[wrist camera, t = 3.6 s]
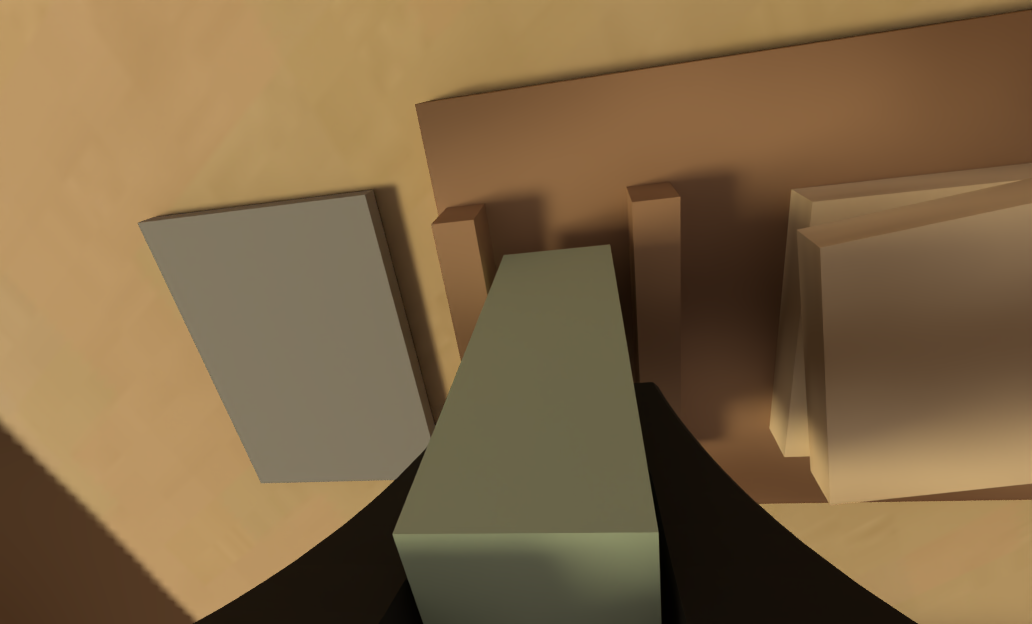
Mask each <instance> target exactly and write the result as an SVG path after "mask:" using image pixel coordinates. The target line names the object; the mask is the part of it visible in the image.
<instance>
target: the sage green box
mask: <svg viewBox="0 0 1032 624" xmlns="http://www.w3.org/2000/svg"><path fill="white" fill-rule="evenodd" d="M392 535H393V538H394V541H395V544H396V546H397V549H398V552H399V555H400V558H401V561H402V564H403V567H404V569H405V572H406V575H407V578H408V581H409V584H410V587H411V590H412V593H413V595H414V598H415V601H416V604H417V607H418V610H419V613H420V616H421V619H422V621H423V624H661V594H660V562H659V532H658V526H657V520H656V514H655V508H654V502H653V496H652V491H651V485H650V479H649V473H648V467H647V461H646V455H645V449H644V443H643V437H642V431H641V425H640V419H639V413H638V407H637V401H636V396H635V390H634V384H633V378H632V372H631V366H630V360H629V354H628V348H627V342H626V336H625V330H624V324H623V318H622V312H621V306H620V300H619V295H618V289H617V283H616V277H615V271H614V265H613V259H612V253H611V247H610V244H609V245H599V246H589V247H579V248H569V249H559V250H549V251H539V252H529V253H519V254H509V255H504V256H503V258H502V261H501V263H500V266H499V268H498V271H497V273H496V276H495V278H494V281H493V283H492V286H491V288H490V291H489V293H488V296H487V298H486V301H485V303H484V306H483V308H482V311H481V313H480V316H479V318H478V321H477V323H476V326H475V328H474V331H473V333H472V336H471V338H470V341H469V343H468V346H467V348H466V351H465V353H464V356H463V358H462V361H461V363H460V366H459V368H458V371H457V373H456V376H455V378H454V381H453V383H452V386H451V388H450V391H449V393H448V396H447V398H446V401H445V403H444V406H443V409H442V411H441V414H440V416H439V419H438V421H437V424H436V426H435V429H434V431H433V434H432V436H431V439H430V441H429V444H428V446H427V449H426V451H425V454H424V456H423V459H422V461H421V464H420V466H419V469H418V471H417V474H416V476H415V479H414V481H413V484H412V486H411V489H410V491H409V494H408V496H407V499H406V501H405V504H404V506H403V509H402V511H401V514H400V516H399V519H398V521H397V524H396V526H395V529H394V531H393V534H392Z"/></svg>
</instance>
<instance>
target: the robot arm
mask: <svg viewBox="0 0 1032 624" xmlns="http://www.w3.org/2000/svg"><path fill="white" fill-rule="evenodd" d="M633 384H634V390H635V396H636V401H637V407H638V413H639V419H640V425H641V431H642V437H643V443H644V449H645V455H646V461H647V467H648V473H649V479H650V485H651V491H652V496H653V502H654V508H655V514H656V520H657V526H658V532H659V562H660V594H661V624H917V623H916V622H914V621H913V620H911V619H910V618H908V617H907V616H905V615H904V614H902V613H901V612H899V611H898V610H896V609H895V608H893V607H892V606H890V605H889V604H887V603H886V602H884V601H883V600H881V599H880V598H878V597H877V596H875V595H874V594H872V593H871V592H869V591H868V590H866V589H865V588H863V587H862V586H860V585H859V584H858V583H856V582H855V581H853V580H852V579H851V578H849V577H848V576H847V575H845V574H844V573H843V572H841V571H840V570H839V569H837V568H836V567H835V566H833V565H832V564H831V563H829V562H828V561H827V560H825V559H824V558H823V557H821V556H820V555H819V554H817V553H816V552H815V551H813V550H812V549H811V548H809V547H808V546H807V545H805V544H804V543H803V542H802V541H800V540H799V539H798V538H797V537H796V536H794V535H793V534H792V533H791V532H790V531H788V530H787V529H786V528H785V527H784V526H782V525H781V524H780V523H779V522H778V521H776V520H775V519H774V518H773V517H772V516H771V515H770V514H769V513H768V512H766V511H765V510H764V509H763V508H762V507H761V506H760V505H759V504H758V503H756V502H755V501H754V500H753V499H752V498H751V497H750V496H749V495H748V494H747V493H746V492H745V491H744V490H743V489H742V488H741V487H740V486H739V485H738V484H737V483H736V482H735V481H734V480H733V479H732V478H731V477H730V476H729V475H728V474H727V473H726V472H725V471H724V470H723V469H722V468H721V467H720V466H719V465H718V464H717V462H716V461H715V460H714V459H713V458H712V457H711V456H710V455H709V454H708V452H707V451H706V450H705V449H704V448H703V447H702V445H701V444H700V443H699V442H698V441H697V439H696V438H695V437H694V436H693V435H692V433H691V432H690V431H689V430H688V429H687V427H686V426H685V425H684V423H683V422H682V421H681V420H680V418H679V417H678V415H677V414H676V413H675V411H674V410H673V409H672V407H671V406H670V404H669V403H668V401H667V400H666V398H665V397H664V395H663V394H662V392H661V390H660V389H659V387H658V386H657V385H656V384H655V383H653V382H643V383H633ZM426 449H427V447H426V448H425V450H424V451H423V452H422V453H421V454H420V455H419V456H418V457H417V458H416V459H415V460H414V461H413V462H412V463H411V464H410V465H409V466H408V467H407V468H406V469H405V470H404V471H403V472H402V473H401V474H400V475H399V476H398V477H397V478H396V479H395V480H394V481H393V482H392V483H391V484H390V485H389V486H388V487H387V488H386V489H385V490H384V491H383V492H382V493H381V494H380V495H378V496H377V497H376V498H375V499H374V500H373V501H372V502H371V503H369V504H368V505H367V506H366V507H365V508H363V509H362V510H361V511H360V512H359V513H358V514H356V515H355V516H354V517H353V518H352V519H350V520H349V521H348V522H347V523H345V524H344V525H343V526H342V527H340V528H339V529H338V530H336V531H335V532H334V533H332V534H331V535H330V536H328V537H327V538H326V539H324V540H323V541H322V542H320V543H319V544H317V545H316V546H315V547H313V548H312V549H311V550H309V551H308V552H307V553H305V554H304V555H303V556H301V557H300V558H299V559H297V560H296V561H294V562H293V563H291V564H290V565H288V566H287V567H285V568H284V569H282V570H281V571H279V572H278V573H276V574H275V575H273V576H272V577H270V578H269V579H267V580H266V581H264V582H263V583H261V584H259V585H258V586H256V587H255V588H253V589H251V590H250V591H248V592H247V593H245V594H243V595H242V596H240V597H239V598H237V599H235V600H234V601H232V602H230V603H229V604H227V605H225V606H224V607H222V608H220V609H219V610H217V611H215V612H213V613H211V614H210V615H208V616H206V617H204V618H202V619H201V620H199V621H197V622H195V623H193V624H423V621H422V619H421V616H420V613H419V610H418V607H417V604H416V601H415V598H414V595H413V593H412V590H411V587H410V584H409V581H408V578H407V575H406V572H405V569H404V567H403V564H402V561H401V558H400V555H399V552H398V549H397V546H396V544H395V541H394V538H393V535H392V534H393V531H394V529H395V526H396V524H397V521H398V519H399V516H400V514H401V511H402V509H403V506H404V504H405V501H406V499H407V496H408V494H409V491H410V489H411V486H412V484H413V481H414V479H415V476H416V474H417V471H418V469H419V466H420V464H421V461H422V459H423V456H424V454H425V451H426Z"/></svg>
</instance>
